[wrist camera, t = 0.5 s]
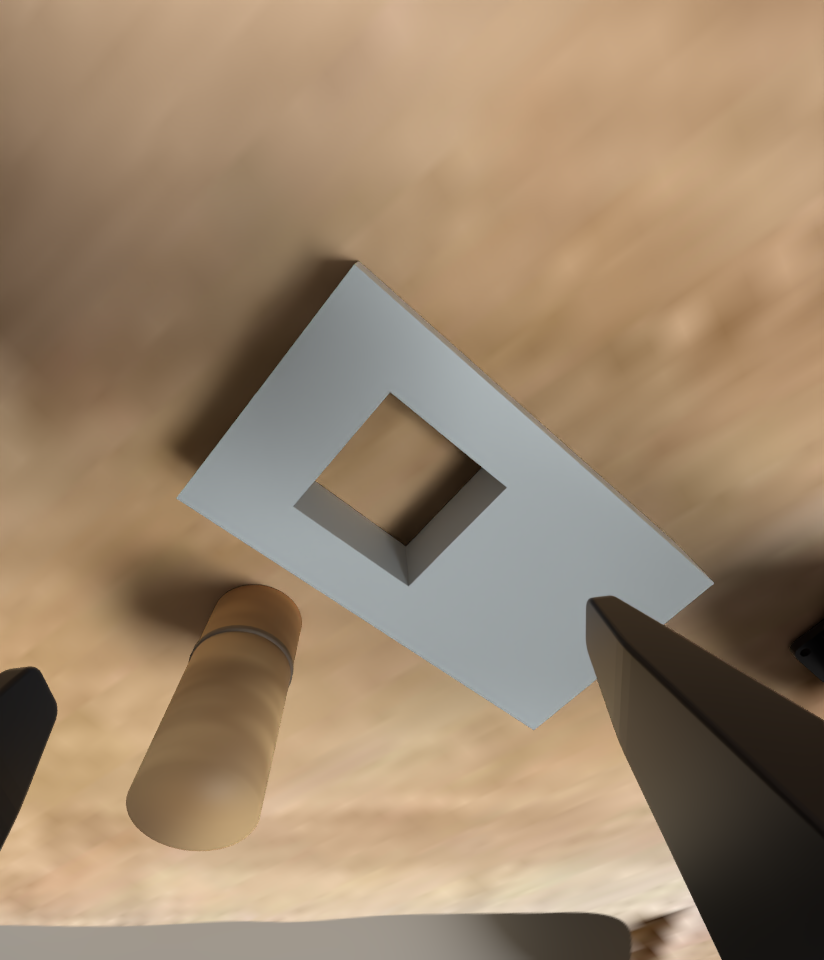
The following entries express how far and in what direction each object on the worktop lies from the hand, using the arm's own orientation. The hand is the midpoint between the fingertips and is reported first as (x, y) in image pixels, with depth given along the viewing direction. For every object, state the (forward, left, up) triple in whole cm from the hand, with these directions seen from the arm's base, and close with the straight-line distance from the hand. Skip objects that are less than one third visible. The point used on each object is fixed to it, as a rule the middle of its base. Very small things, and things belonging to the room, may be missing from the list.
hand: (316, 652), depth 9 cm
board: (-6, +1, -13) cm, 15 cm away
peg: (-3, +11, -13) cm, 17 cm away
